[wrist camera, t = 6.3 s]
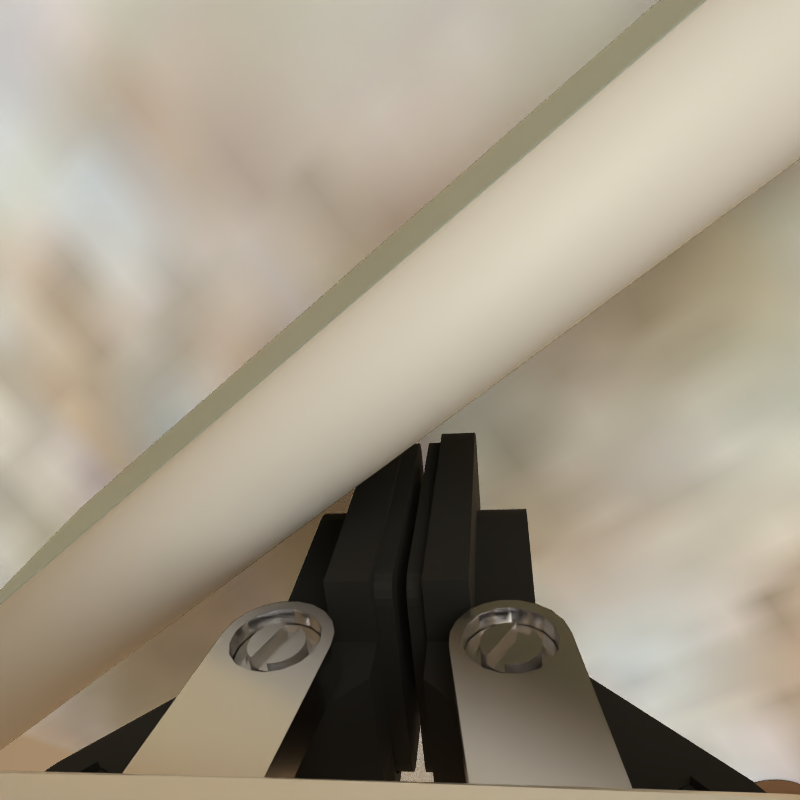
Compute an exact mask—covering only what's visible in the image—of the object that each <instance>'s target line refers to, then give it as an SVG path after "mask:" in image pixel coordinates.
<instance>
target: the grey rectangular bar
mask: <svg viewBox="0 0 800 800" xmlns="http://www.w3.org/2000/svg"><path fill="white" fill-rule="evenodd" d="M799 159H800V0H659V1H658V2H657V3H656V4H655V5H654V6H653V7H651V8H650V9H649V10H648V11H647V12H646V13H645V14H643V15H642V16H641V17H640V18H639V19H638V20H637V21H635V22H634V23H633V24H632V25H631V26H630V27H629V28H628V29H626V30H625V31H624V32H623V33H622V34H621V35H620V36H618V37H617V38H616V39H615V40H614V41H613V42H612V43H610V44H609V45H608V46H607V47H606V48H605V49H604V50H602V51H601V52H600V53H599V54H598V55H597V56H596V57H594V58H593V59H592V60H591V61H590V62H589V63H588V64H586V65H585V66H584V67H583V68H582V69H581V70H580V71H578V72H577V73H576V74H575V75H574V76H573V77H572V78H570V79H569V80H568V81H567V82H566V83H565V84H564V85H562V86H561V87H560V88H559V89H558V90H557V91H556V92H555V93H553V94H552V95H551V96H550V97H549V98H548V99H547V100H545V101H544V102H543V103H542V104H541V105H540V106H539V107H537V108H536V109H535V110H534V111H533V112H532V113H531V114H529V115H528V116H527V117H526V118H525V119H524V120H523V121H521V122H520V123H519V124H518V125H517V126H516V127H515V128H513V129H512V130H511V131H510V132H509V133H508V134H507V135H505V136H504V137H503V138H502V139H501V140H500V141H499V142H497V143H496V144H495V145H494V146H493V147H492V148H491V149H490V150H488V151H487V152H486V153H485V154H484V155H483V156H482V157H480V158H479V159H478V160H477V161H476V162H475V163H474V164H472V165H471V166H470V167H469V168H468V169H467V170H466V171H464V172H463V173H462V174H461V175H460V176H459V177H458V178H456V179H455V180H454V181H453V182H452V183H451V184H450V185H448V186H447V187H446V188H445V189H444V190H443V191H442V192H440V193H439V194H438V195H437V196H436V197H435V198H434V199H432V200H431V201H430V202H429V203H428V204H427V205H426V206H425V207H423V208H422V209H421V210H420V211H419V212H418V213H417V214H415V215H414V216H413V217H412V218H411V219H410V220H409V221H407V222H406V223H405V224H404V225H403V226H402V227H401V228H399V229H398V230H397V231H396V232H395V233H394V234H393V235H391V236H390V237H389V238H388V239H387V240H386V241H385V242H383V243H382V244H381V245H380V246H379V247H378V248H377V249H375V250H374V251H373V252H372V253H371V254H370V255H369V256H367V257H366V258H365V259H364V260H363V261H362V262H361V263H360V264H358V265H357V266H356V267H355V268H354V269H353V270H352V271H350V272H349V273H348V274H347V275H346V276H345V277H344V278H342V279H341V280H340V281H339V282H338V283H337V284H336V285H334V286H333V287H332V288H331V289H330V290H329V291H328V292H326V293H325V294H324V295H323V296H322V297H321V298H320V299H318V300H317V301H316V302H315V303H314V304H313V305H312V306H310V307H309V308H308V309H307V310H306V311H305V312H304V313H302V314H301V315H300V316H299V317H298V318H297V319H296V320H295V321H293V322H292V323H291V324H290V325H289V326H288V327H287V328H285V329H284V330H283V331H282V332H281V333H280V334H279V335H277V336H276V337H275V338H274V339H273V340H272V341H271V342H269V343H268V344H267V345H266V346H265V347H264V348H263V349H261V350H260V351H259V352H258V353H257V354H256V355H255V356H253V357H252V358H251V359H250V360H249V361H248V362H247V363H245V364H244V365H243V366H242V367H241V368H240V369H239V370H237V371H236V372H235V373H234V374H233V375H232V376H231V377H230V378H228V379H227V380H226V381H225V382H224V383H223V384H222V385H220V386H219V387H218V388H217V389H216V390H215V391H214V392H212V393H211V394H210V395H209V396H208V397H207V398H206V399H204V400H203V401H202V402H201V403H200V404H199V405H198V406H196V407H195V408H194V409H193V410H192V411H191V412H190V413H188V414H187V415H186V416H185V417H184V418H183V419H182V420H180V421H179V422H178V423H177V424H176V425H175V426H174V427H172V428H171V429H170V430H169V431H168V432H167V433H166V434H165V435H163V436H162V437H161V438H160V439H159V440H158V441H157V442H155V443H154V444H153V445H152V446H151V447H150V448H149V449H147V450H146V451H145V452H144V453H143V454H142V455H141V456H139V457H138V458H137V459H136V460H135V461H134V462H133V463H131V464H130V465H129V466H128V467H127V468H126V469H125V470H123V471H122V472H121V473H120V474H119V475H118V476H117V477H115V478H114V479H113V480H112V481H111V482H110V483H109V484H107V485H106V486H105V487H104V488H103V489H102V490H101V491H100V492H98V493H97V494H96V495H95V496H94V497H93V498H92V499H90V500H89V501H88V502H87V503H86V504H85V505H84V506H82V507H81V508H80V509H79V510H78V511H77V512H76V513H75V514H74V515H73V517H72V518H71V519H70V520H69V521H68V522H67V523H66V524H65V525H64V526H63V527H62V528H61V529H60V530H59V531H58V532H57V533H56V534H55V535H54V536H53V537H52V538H51V539H50V540H49V541H48V542H47V543H46V544H45V545H44V546H43V547H42V548H41V549H40V550H39V551H38V552H37V553H36V554H35V555H34V556H33V557H32V558H31V559H30V560H29V561H28V562H27V563H26V564H25V566H24V567H23V568H22V569H21V570H20V571H19V572H18V573H17V574H16V575H15V576H14V577H13V578H12V579H11V580H10V581H9V582H8V583H7V584H6V585H5V586H4V587H3V588H2V589H1V590H0V750H1V749H3V748H4V747H5V746H7V745H8V744H9V743H11V742H12V741H13V740H15V739H16V738H17V737H19V736H20V735H22V734H23V733H24V732H26V731H27V730H28V729H30V728H31V727H32V726H34V725H35V724H36V723H38V722H39V721H40V720H42V719H43V718H45V717H46V716H47V715H49V714H50V713H51V712H53V711H54V710H55V709H57V708H58V707H59V706H61V705H62V704H63V703H65V702H66V701H68V700H69V699H70V698H72V697H73V696H74V695H76V694H77V693H78V692H80V691H81V690H82V689H84V688H85V687H86V686H88V685H89V684H90V683H92V682H93V681H95V680H96V679H97V678H99V677H100V676H101V675H103V674H104V673H105V672H107V671H108V670H109V669H111V668H112V667H113V666H115V665H116V664H118V663H119V662H120V661H122V660H123V659H124V658H126V657H127V656H128V655H130V654H131V653H132V652H134V651H135V650H136V649H138V648H139V647H140V646H142V645H143V644H145V643H146V642H147V641H149V640H150V639H151V638H153V637H154V636H155V635H157V634H158V633H159V632H161V631H162V630H163V629H165V628H166V627H168V626H169V625H170V624H172V623H173V622H174V621H176V620H177V619H178V618H180V617H181V616H182V615H184V614H185V613H186V612H188V611H189V610H191V609H192V608H193V607H195V606H196V605H197V604H199V603H200V602H201V601H203V600H204V599H205V598H207V597H208V596H209V595H211V594H212V593H213V592H215V591H216V590H218V589H219V588H220V587H222V586H223V585H224V584H226V583H227V582H228V581H230V580H231V579H232V578H234V577H235V576H236V575H238V574H239V573H241V572H242V571H243V570H245V569H246V568H247V567H249V566H250V565H251V564H253V563H254V562H255V561H257V560H258V559H259V558H261V557H262V556H264V555H265V554H266V553H268V552H269V551H270V550H272V549H273V548H274V547H276V546H277V545H278V544H280V543H281V542H282V541H284V540H285V539H286V538H288V537H289V536H291V535H292V534H293V533H295V532H296V531H297V530H299V529H300V528H301V527H303V526H304V525H305V524H307V523H308V522H309V521H311V520H312V519H314V518H315V517H316V516H318V515H319V514H320V513H322V512H323V511H324V510H326V509H327V508H328V507H330V506H331V505H332V504H334V503H335V502H337V501H338V500H339V499H341V498H342V497H343V496H345V495H346V494H347V493H349V492H350V491H351V490H353V489H354V488H355V487H357V486H358V485H359V484H361V483H362V482H364V481H365V480H366V479H368V478H369V477H370V476H372V475H373V474H374V473H376V472H377V471H378V470H380V469H381V468H382V467H384V466H385V465H387V464H388V463H389V462H391V461H392V460H393V459H395V458H396V457H397V456H399V455H400V454H401V453H403V452H404V451H405V450H407V449H408V448H409V447H411V446H412V445H414V444H415V443H416V442H418V441H419V440H420V439H422V438H423V437H424V436H426V435H427V434H428V433H430V432H431V431H432V430H434V429H435V428H437V427H438V426H439V425H441V424H442V423H443V422H445V421H446V420H447V419H449V418H450V417H451V416H453V415H454V414H455V413H457V412H458V411H460V410H461V409H462V408H464V407H465V406H466V405H468V404H469V403H470V402H472V401H473V400H474V399H476V398H477V397H478V396H480V395H481V394H482V393H484V392H485V391H487V390H488V389H489V388H491V387H492V386H493V385H495V384H496V383H497V382H499V381H500V380H501V379H503V378H504V377H505V376H507V375H508V374H510V373H511V372H512V371H514V370H515V369H516V368H518V367H519V366H520V365H522V364H523V363H524V362H526V361H527V360H528V359H530V358H531V357H533V356H534V355H535V354H537V353H538V352H539V351H541V350H542V349H543V348H545V347H546V346H547V345H549V344H550V343H551V342H553V341H554V340H555V339H557V338H558V337H560V336H561V335H562V334H564V333H565V332H566V331H568V330H569V329H570V328H572V327H573V326H574V325H576V324H577V323H578V322H580V321H581V320H583V319H584V318H585V317H587V316H588V315H589V314H591V313H592V312H593V311H595V310H596V309H597V308H599V307H600V306H601V305H603V304H604V303H606V302H607V301H608V300H610V299H611V298H612V297H614V296H615V295H616V294H618V293H619V292H620V291H622V290H623V289H624V288H626V287H627V286H628V285H630V284H631V283H633V282H634V281H635V280H637V279H638V278H639V277H641V276H642V275H643V274H645V273H646V272H647V271H649V270H650V269H651V268H653V267H654V266H656V265H657V264H658V263H660V262H661V261H662V260H664V259H665V258H666V257H668V256H669V255H670V254H672V253H673V252H674V251H676V250H677V249H679V248H680V247H681V246H683V245H684V244H685V243H687V242H688V241H689V240H691V239H692V238H693V237H695V236H696V235H697V234H699V233H700V232H701V231H703V230H704V229H706V228H707V227H708V226H710V225H711V224H712V223H714V222H715V221H716V220H718V219H719V218H720V217H722V216H723V215H724V214H726V213H727V212H729V211H730V210H731V209H733V208H734V207H735V206H737V205H738V204H739V203H741V202H742V201H743V200H745V199H746V198H747V197H749V196H750V195H751V194H753V193H754V192H756V191H757V190H758V189H760V188H761V187H762V186H764V185H765V184H766V183H768V182H769V181H770V180H772V179H773V178H774V177H776V176H777V175H779V174H780V173H781V172H783V171H784V170H785V169H787V168H788V167H789V166H791V165H792V164H793V163H795V162H796V161H797V160H799Z"/></svg>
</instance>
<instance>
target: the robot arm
mask: <svg viewBox="0 0 800 800" xmlns="http://www.w3.org/2000/svg"><path fill="white" fill-rule="evenodd" d="M420 725H421V734H422V744H423V753H424V762H425V769H426V772H433V776H434V782H407V781H400V778H401V771H407V772H414V771H415V768H416V760H417V751H418V742H419V733H420ZM0 800H800V795H796V794H778V793H767V792H765V791H764V790H763V789H762V788H760V787H759V786H758V785H757V784H755V783H754V782H753V781H751V780H750V779H748V778H747V777H745V776H744V775H742V774H740V773H739V772H737V771H736V770H734V769H733V768H731V767H729V766H728V765H726V764H725V763H723V762H722V761H720V760H719V759H717V758H715V757H714V756H712V755H711V754H709V753H708V752H706V751H704V750H703V749H701V748H700V747H698V746H697V745H695V744H693V743H692V742H690V741H689V740H687V739H686V738H684V737H682V736H681V735H679V734H678V733H676V732H675V731H673V730H672V729H670V728H668V727H667V726H665V725H664V724H662V723H661V722H659V721H657V720H656V719H654V718H653V717H651V716H650V715H648V714H646V713H645V712H643V711H642V710H640V709H639V708H637V707H635V706H634V705H632V704H631V703H629V702H628V701H626V700H624V699H623V698H621V697H620V696H618V695H617V694H615V693H614V692H612V691H610V690H609V689H607V688H606V687H604V686H603V685H601V684H599V683H598V682H596V681H595V680H593V679H592V678H590V677H589V675H588V673H587V670H586V668H585V665H584V663H583V660H582V657H581V655H580V652H579V650H578V647H577V645H576V642H575V639H574V637H573V634H572V632H571V630H570V629H569V627H568V626H567V624H566V623H565V621H564V620H563V619H562V618H560V617H559V616H558V615H557V614H555V613H554V612H553V611H552V610H549V609H547V608H545V607H542V606H540V605H538V604H535V595H534V585H533V574H532V564H531V553H530V543H529V532H528V522H527V512H526V509H509V510H480V495H479V479H478V462H477V446H476V435H475V433H458V434H442V437H441V443H429V447H428V453H427V459H426V465H425V470H424V473H423V462H422V452H421V446H420V444H414V445H412V446H411V447H409V448H408V449H407V450H405V451H404V452H403V453H401V454H400V455H399V456H397V457H396V458H395V459H393V460H392V461H391V462H389V463H388V464H387V465H385V466H384V467H382V468H381V469H380V470H378V471H377V472H376V473H374V474H373V475H372V476H370V477H369V478H368V479H366V480H365V481H364V482H362V483H361V484H359V485H358V486H357V487H356V488H355V491H354V494H353V497H352V500H351V503H350V506H349V509H348V512H347V513H344V514H325V515H324V516H323V518H322V519H321V522H320V524H319V526H318V529H317V531H316V534H315V536H314V539H313V541H312V544H311V546H310V549H309V551H308V554H307V556H306V559H305V561H304V564H303V566H302V569H301V571H300V574H299V576H298V579H297V581H296V584H295V586H294V589H293V591H292V594H291V596H290V599H289V601H288V602H278V603H273V604H268V605H264V606H261V607H259V608H257V609H254V610H252V611H249V612H247V613H246V614H244V615H243V616H241V617H240V618H238V619H236V620H235V621H234V622H233V623H232V624H231V625H230V626H229V627H228V628H227V629H226V630H225V631H224V632H223V633H222V635H221V636H220V637H219V639H218V640H217V642H216V643H215V644H214V646H213V647H212V649H211V650H210V651H209V653H208V654H207V656H206V657H205V658H204V660H203V661H202V663H201V664H200V665H199V667H198V668H197V670H196V671H195V672H194V674H193V675H192V677H191V678H190V679H189V681H188V682H187V683H186V685H185V686H184V688H183V689H182V690H181V692H180V693H179V695H178V696H177V697H175V698H174V699H172V700H170V701H168V702H166V703H165V704H163V705H161V706H159V707H157V708H155V709H154V710H152V711H150V712H148V713H146V714H145V715H143V716H141V717H139V718H137V719H136V720H134V721H132V722H130V723H128V724H127V725H125V726H123V727H121V728H119V729H117V730H116V731H114V732H112V733H110V734H108V735H107V736H105V737H103V738H101V739H99V740H98V741H96V742H94V743H92V744H90V745H89V746H87V747H85V748H83V749H81V750H79V751H78V752H76V753H74V754H72V755H70V756H69V757H67V758H65V759H63V760H61V761H60V762H58V763H56V764H55V765H53V766H52V767H50V768H49V769H47V770H46V771H44V772H34V771H0Z"/></svg>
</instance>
